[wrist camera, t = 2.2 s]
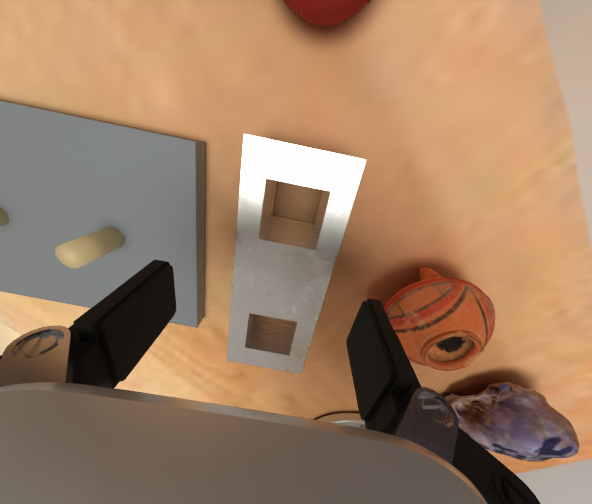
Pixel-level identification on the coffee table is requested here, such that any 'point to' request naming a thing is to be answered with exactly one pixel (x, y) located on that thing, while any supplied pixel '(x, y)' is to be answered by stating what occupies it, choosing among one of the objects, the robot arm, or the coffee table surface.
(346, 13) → the kendama
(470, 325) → the pot
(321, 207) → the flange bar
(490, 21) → the coffee table surface
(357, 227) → the coffee table surface
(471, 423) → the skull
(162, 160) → the pin board
